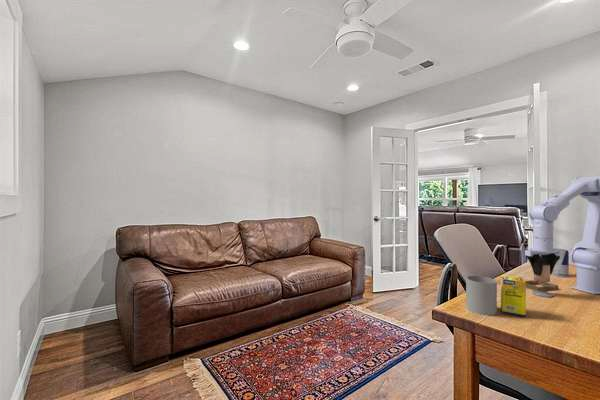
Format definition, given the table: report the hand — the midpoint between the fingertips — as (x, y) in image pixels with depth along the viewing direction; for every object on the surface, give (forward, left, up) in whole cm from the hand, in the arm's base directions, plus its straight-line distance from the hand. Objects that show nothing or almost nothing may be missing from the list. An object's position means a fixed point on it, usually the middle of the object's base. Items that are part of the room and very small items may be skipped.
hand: (542, 274), depth 105 cm
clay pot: (0, 0, -2) cm, 2 cm away
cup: (+34, +6, -8) cm, 35 cm away
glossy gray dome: (0, 0, -8) cm, 8 cm away
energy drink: (-34, -17, -8) cm, 39 cm away
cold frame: (-7, -7, -8) cm, 12 cm away
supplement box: (+26, +10, -8) cm, 29 cm away
